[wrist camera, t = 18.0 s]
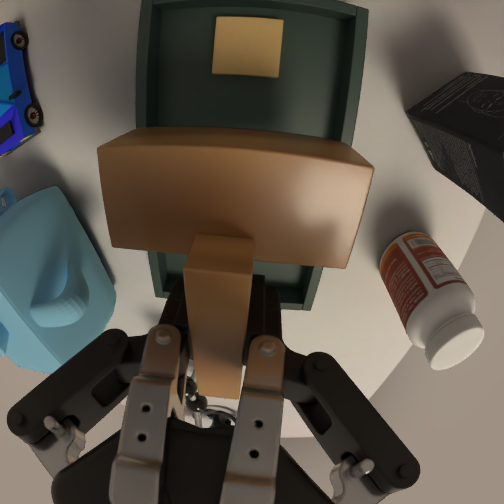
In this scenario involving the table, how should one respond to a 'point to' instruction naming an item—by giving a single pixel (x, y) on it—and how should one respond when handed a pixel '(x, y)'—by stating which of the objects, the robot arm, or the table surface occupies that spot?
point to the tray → (251, 93)
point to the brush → (231, 219)
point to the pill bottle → (431, 299)
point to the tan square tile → (247, 46)
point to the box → (467, 135)
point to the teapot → (48, 282)
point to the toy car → (15, 92)
